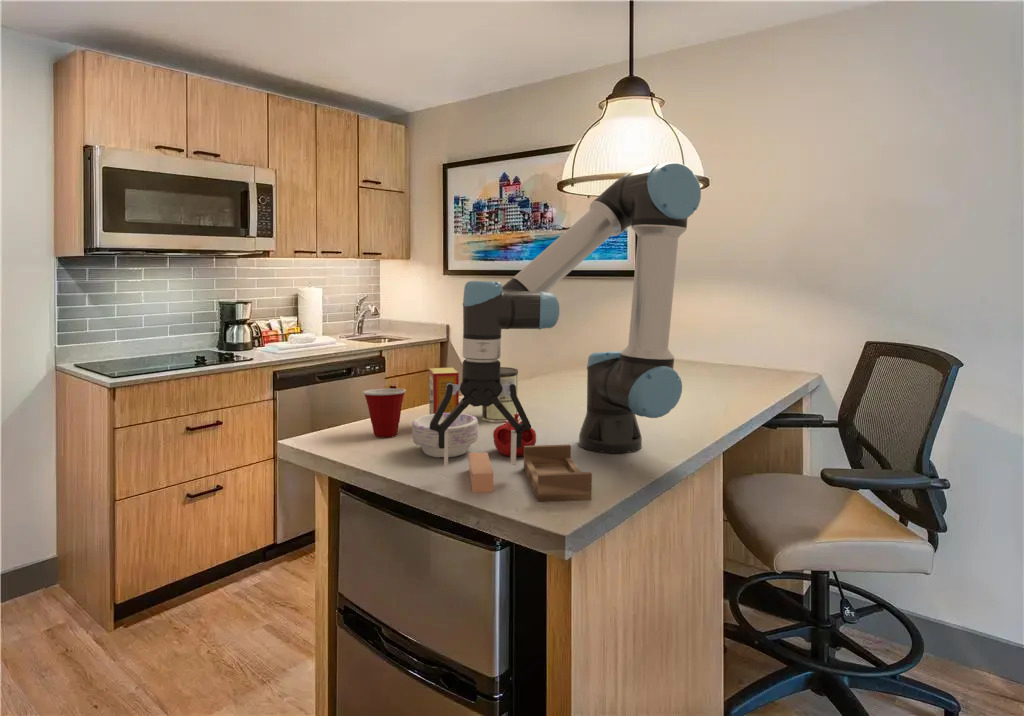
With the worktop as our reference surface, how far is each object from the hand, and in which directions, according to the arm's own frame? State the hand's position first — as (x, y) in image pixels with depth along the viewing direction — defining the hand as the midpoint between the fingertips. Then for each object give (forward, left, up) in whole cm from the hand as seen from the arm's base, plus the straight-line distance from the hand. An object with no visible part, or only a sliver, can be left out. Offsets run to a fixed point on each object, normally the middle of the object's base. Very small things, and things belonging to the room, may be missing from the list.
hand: (479, 463), depth 131 cm
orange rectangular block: (0, 0, -4) cm, 4 cm away
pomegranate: (-9, -19, -4) cm, 22 cm away
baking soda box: (+7, -44, -4) cm, 45 cm away
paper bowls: (+7, -21, -4) cm, 22 cm away
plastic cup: (+22, -38, -4) cm, 44 cm away
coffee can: (-9, -53, -4) cm, 54 cm away
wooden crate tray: (-15, +3, -4) cm, 16 cm away
